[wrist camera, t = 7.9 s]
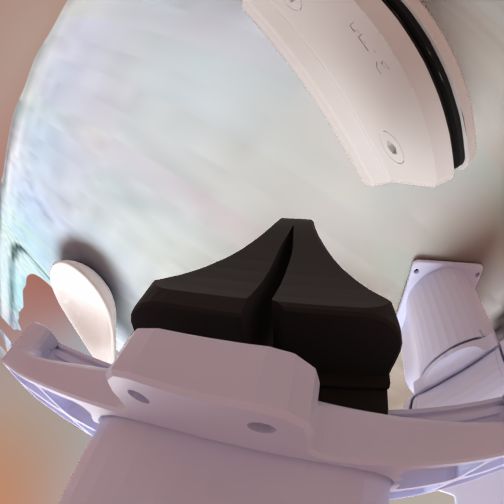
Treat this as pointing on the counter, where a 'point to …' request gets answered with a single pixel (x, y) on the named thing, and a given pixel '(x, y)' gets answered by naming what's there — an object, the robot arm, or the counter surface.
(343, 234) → the counter surface
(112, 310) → the spoon rest
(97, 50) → the counter surface
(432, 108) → the white curved piece
